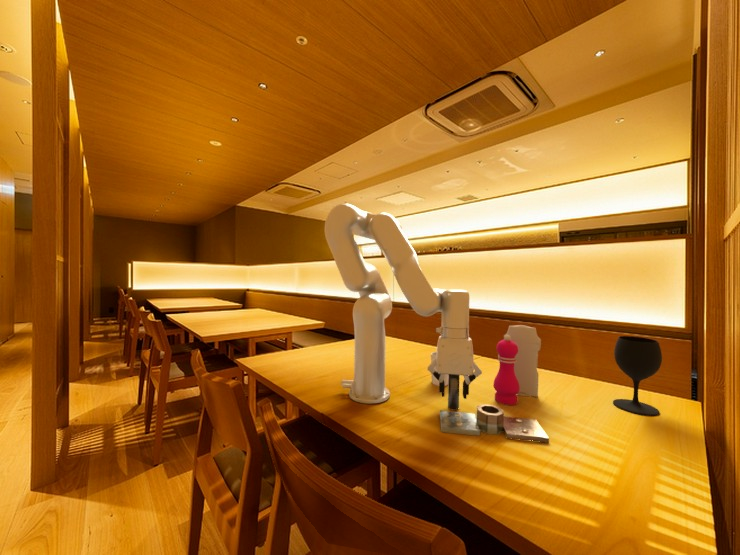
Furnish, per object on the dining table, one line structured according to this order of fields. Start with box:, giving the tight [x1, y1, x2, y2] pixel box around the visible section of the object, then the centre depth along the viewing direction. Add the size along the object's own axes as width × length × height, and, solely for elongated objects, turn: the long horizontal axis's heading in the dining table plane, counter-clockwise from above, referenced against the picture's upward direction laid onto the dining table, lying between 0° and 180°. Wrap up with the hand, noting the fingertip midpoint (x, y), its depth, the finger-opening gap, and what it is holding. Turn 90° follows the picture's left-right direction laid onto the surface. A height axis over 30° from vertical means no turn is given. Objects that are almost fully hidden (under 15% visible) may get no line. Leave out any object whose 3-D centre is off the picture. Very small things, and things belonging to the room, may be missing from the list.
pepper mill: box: [493, 334, 520, 406], centre depth 94 cm, size 7×7×20 cm
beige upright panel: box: [503, 324, 542, 398], centre depth 99 cm, size 11×4×22 cm, turn 62°
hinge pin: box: [447, 374, 461, 410], centre depth 89 cm, size 3×3×10 cm
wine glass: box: [612, 335, 663, 417], centre depth 90 cm, size 10×10×20 cm
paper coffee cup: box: [430, 351, 449, 387], centre depth 108 cm, size 7×7×10 cm
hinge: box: [439, 403, 550, 444], centre depth 78 cm, size 24×9×5 cm, turn 79°
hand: (453, 395), depth 89 cm, fingers open, 5 cm apart
